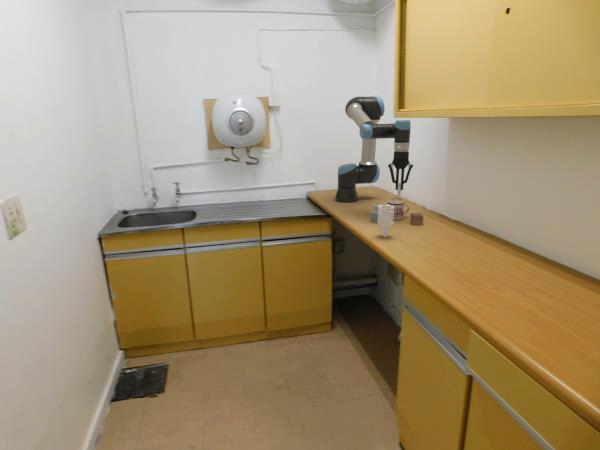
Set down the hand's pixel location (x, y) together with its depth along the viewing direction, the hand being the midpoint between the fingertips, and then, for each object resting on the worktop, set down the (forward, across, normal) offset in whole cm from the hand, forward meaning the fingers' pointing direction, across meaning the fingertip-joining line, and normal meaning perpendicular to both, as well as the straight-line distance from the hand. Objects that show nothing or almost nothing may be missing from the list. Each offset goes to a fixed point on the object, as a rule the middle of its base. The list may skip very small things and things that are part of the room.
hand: (398, 195), depth 198 cm
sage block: (+12, -11, +6) cm, 17 cm away
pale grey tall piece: (+12, -3, -34) cm, 36 cm away
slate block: (+12, -10, -10) cm, 19 cm away
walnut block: (+12, +10, -9) cm, 18 cm away
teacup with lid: (+12, 0, 0) cm, 12 cm away
